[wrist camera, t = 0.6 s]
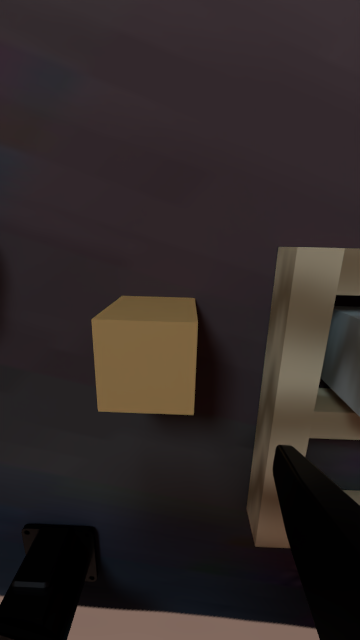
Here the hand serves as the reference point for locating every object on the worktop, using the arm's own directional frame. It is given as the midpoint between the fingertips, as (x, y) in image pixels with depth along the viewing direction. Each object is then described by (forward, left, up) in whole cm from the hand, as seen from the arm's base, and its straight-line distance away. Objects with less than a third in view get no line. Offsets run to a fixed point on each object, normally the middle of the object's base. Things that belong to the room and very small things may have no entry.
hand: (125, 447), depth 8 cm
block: (0, 0, -11) cm, 11 cm away
